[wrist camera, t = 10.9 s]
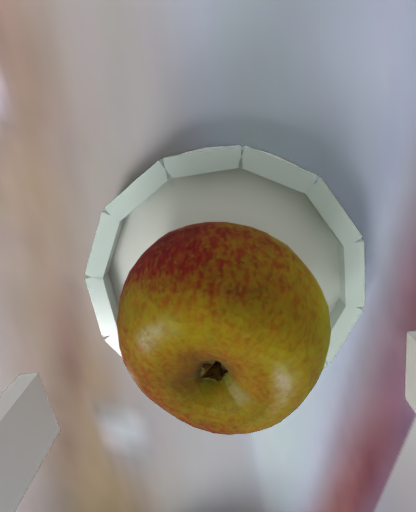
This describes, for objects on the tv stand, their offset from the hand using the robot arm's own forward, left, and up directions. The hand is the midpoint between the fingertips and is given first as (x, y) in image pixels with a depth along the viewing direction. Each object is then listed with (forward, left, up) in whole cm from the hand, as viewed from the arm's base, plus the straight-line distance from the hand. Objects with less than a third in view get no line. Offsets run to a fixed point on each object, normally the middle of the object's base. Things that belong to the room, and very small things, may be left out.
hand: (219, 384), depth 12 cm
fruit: (0, 0, -8) cm, 8 cm away
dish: (0, 0, -9) cm, 9 cm away
